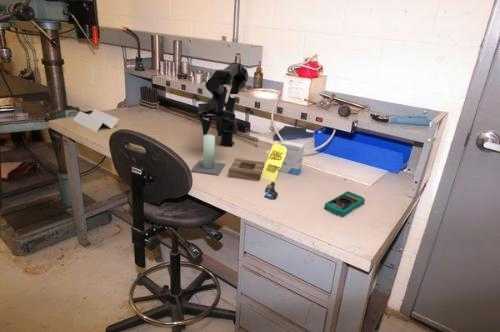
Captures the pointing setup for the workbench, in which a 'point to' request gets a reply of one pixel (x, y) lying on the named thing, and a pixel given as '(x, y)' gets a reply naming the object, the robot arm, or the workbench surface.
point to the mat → (215, 171)
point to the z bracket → (95, 120)
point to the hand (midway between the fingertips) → (211, 136)
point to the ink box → (293, 158)
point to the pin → (208, 151)
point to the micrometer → (271, 191)
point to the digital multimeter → (344, 203)
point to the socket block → (246, 169)
